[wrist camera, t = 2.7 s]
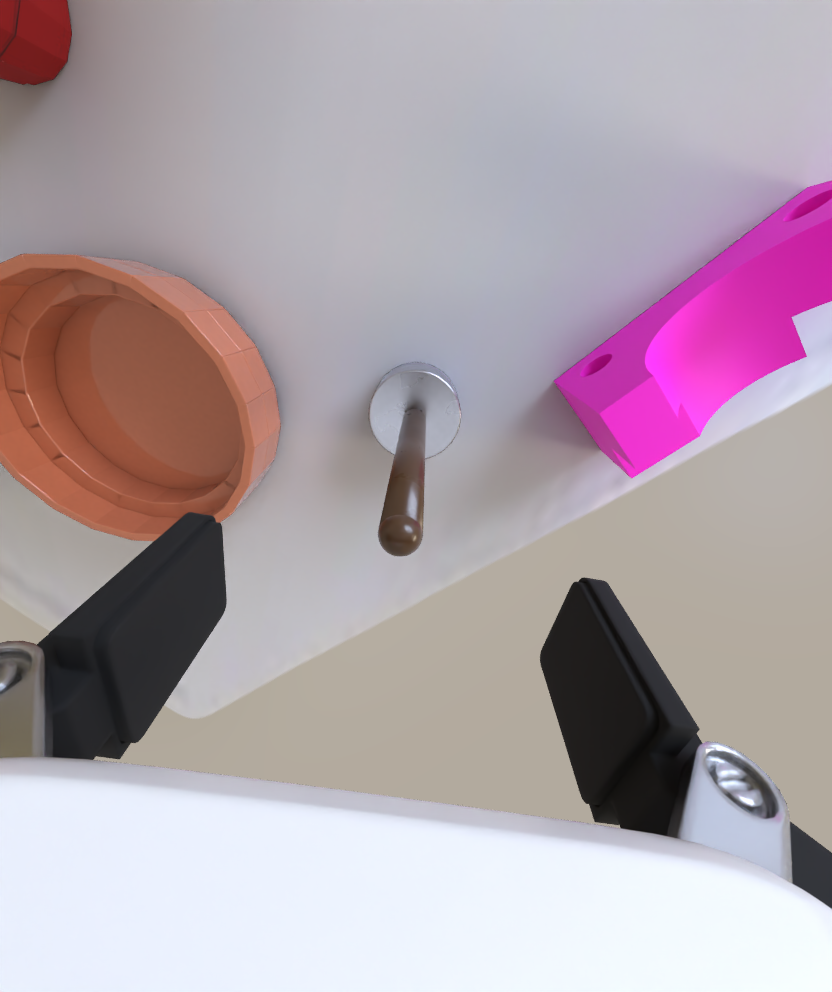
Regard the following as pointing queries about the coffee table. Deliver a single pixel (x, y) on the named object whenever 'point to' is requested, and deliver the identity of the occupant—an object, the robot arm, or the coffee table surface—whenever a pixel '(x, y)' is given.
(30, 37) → the plastic cup
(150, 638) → the robot arm
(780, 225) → the toy block
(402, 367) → the meat pounder
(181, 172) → the coffee table surface
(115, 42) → the coffee table surface
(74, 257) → the bowl
